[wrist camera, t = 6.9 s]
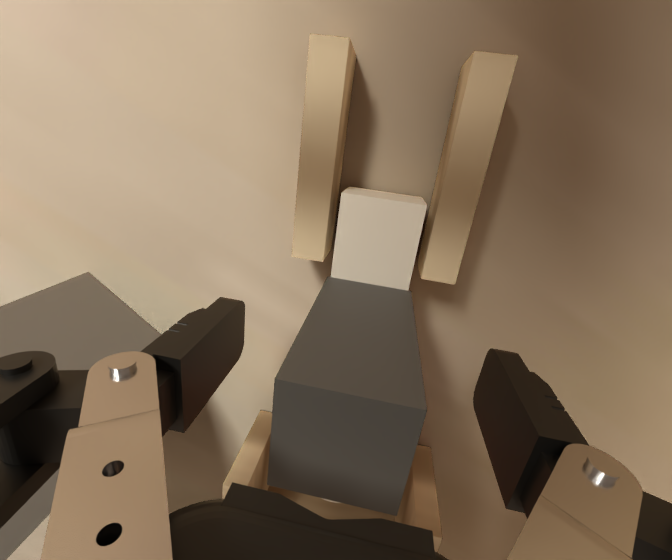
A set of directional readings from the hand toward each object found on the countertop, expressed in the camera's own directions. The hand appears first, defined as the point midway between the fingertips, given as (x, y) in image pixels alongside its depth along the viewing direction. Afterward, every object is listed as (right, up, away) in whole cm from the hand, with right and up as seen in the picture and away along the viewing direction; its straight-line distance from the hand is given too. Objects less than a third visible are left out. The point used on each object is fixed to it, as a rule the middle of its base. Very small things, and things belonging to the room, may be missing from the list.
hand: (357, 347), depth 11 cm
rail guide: (+1, +7, +2) cm, 7 cm away
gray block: (+1, +2, +4) cm, 4 cm away
